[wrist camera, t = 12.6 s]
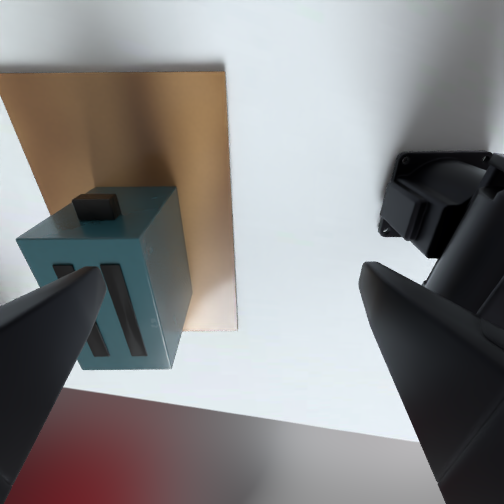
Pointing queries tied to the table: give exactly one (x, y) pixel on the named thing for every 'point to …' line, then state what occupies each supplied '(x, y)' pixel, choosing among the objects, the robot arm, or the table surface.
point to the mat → (139, 158)
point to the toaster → (121, 271)
